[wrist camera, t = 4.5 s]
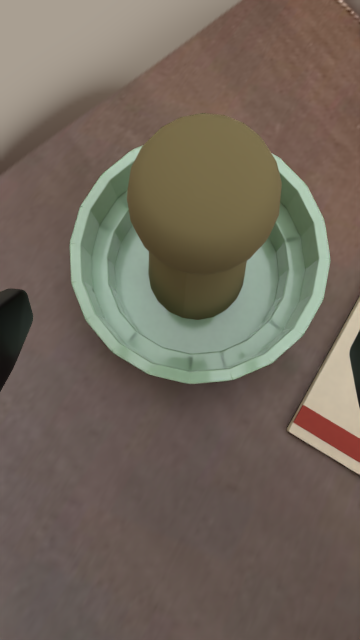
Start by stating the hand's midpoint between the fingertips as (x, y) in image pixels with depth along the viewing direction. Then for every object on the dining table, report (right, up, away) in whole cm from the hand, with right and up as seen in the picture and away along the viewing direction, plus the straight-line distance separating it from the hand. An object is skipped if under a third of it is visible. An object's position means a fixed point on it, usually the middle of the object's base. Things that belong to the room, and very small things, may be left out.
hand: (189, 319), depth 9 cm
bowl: (+1, +3, +12) cm, 12 cm away
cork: (+1, +3, +12) cm, 12 cm away
